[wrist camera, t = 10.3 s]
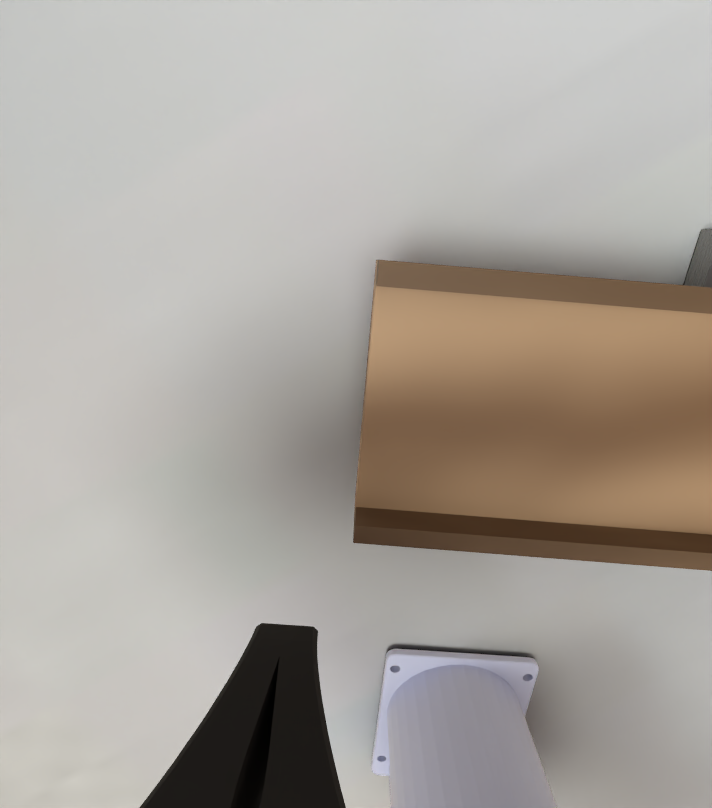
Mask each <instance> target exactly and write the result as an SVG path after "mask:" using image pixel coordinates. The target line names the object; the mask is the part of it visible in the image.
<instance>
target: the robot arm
mask: <svg viewBox="0 0 712 808" xmlns="http://www.w3.org/2000/svg"><path fill="white" fill-rule="evenodd" d="M317 636H318V631H317V630H316V629H315V628H314V627H310V626H295V625H280V624H265V623H261V624H260V625H258V626H257V627H256V629H255V631H254V633H253V636H252V638H251V640H250V642H249V644H248V646H247V648H246V649H245V651H244V653H243V655H242V657H241V659H240V660H239V662H238V664H237V666H236V667H235V669H234V671H233V673H232V674H231V676H230V678H229V679H228V681H227V683H226V684H225V686H224V688H223V689H222V691H221V692H220V694H219V696H218V697H217V699H216V700H215V702H214V703H213V705H212V707H211V708H210V710H209V711H208V713H207V715H206V716H205V718H204V719H203V721H202V722H201V724H200V725H199V727H198V728H197V729H196V731H195V732H194V734H193V735H192V737H191V738H190V740H189V741H188V742H187V744H186V745H185V747H184V748H183V750H182V751H181V752H180V754H179V755H178V757H177V758H176V760H175V761H174V763H173V764H172V765H171V767H170V768H169V769H168V771H167V772H166V773H165V775H164V776H163V777H162V779H161V780H160V782H159V783H158V784H157V786H156V787H155V788H154V790H153V791H152V792H151V793H150V795H149V796H148V797H147V799H146V800H145V801H144V803H143V804H142V805H141V806H140V808H346V807H345V803H344V799H343V796H342V792H341V788H340V784H339V780H338V776H337V772H336V767H335V763H334V759H333V754H332V750H331V745H330V741H329V736H328V731H327V725H326V720H325V714H324V708H323V703H322V696H321V690H320V682H319V672H318V661H317ZM393 665H397V666H393ZM538 672H539V666H538V664H537V662H536V660H535V659H533V658H530V657H517V656H502V655H486V654H471V653H456V652H441V651H425V650H410V649H392V650H389V651H388V652H387V654H386V659H385V667H384V674H383V681H382V689H381V696H380V704H379V711H378V718H377V726H376V733H375V740H374V748H373V755H372V762H371V766H372V772H373V773H374V774H376V775H383V776H389V785H390V802H391V808H557V805H556V802H555V799H554V797H553V794H552V791H551V788H550V786H549V783H548V780H547V777H546V775H545V772H544V769H543V766H542V764H541V761H540V758H539V755H538V752H537V750H536V747H535V744H534V741H533V739H532V736H531V733H530V730H529V728H528V725H527V722H526V719H525V716H526V712H527V709H528V705H529V702H530V699H531V695H532V692H533V689H534V685H535V682H536V679H537V675H538Z"/></svg>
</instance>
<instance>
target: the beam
mask: <svg viewBox="0 0 712 808" xmlns="http://www.w3.org/2000/svg"><path fill="white" fill-rule="evenodd" d="M353 543H363V544H376V545H389V546H401V547H414V548H427V549H440V550H453V551H466V552H479V553H492V554H504V555H517V556H530V557H543V558H556V559H569V560H582V561H595V562H607V563H620V564H633V565H646V566H659V567H672V568H685V569H697V570H710V571H712V288H710V287H698V286H686V285H674V284H662V283H650V282H638V281H626V280H614V279H602V278H590V277H578V276H566V275H554V274H542V273H530V272H518V271H506V270H494V269H482V268H470V267H458V266H446V265H434V264H422V263H410V262H398V261H386V260H376V269H375V280H374V291H373V302H372V314H371V325H370V336H369V347H368V358H367V370H366V381H365V392H364V403H363V414H362V425H361V437H360V448H359V459H358V470H357V481H356V493H355V512H354V538H353Z"/></svg>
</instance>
